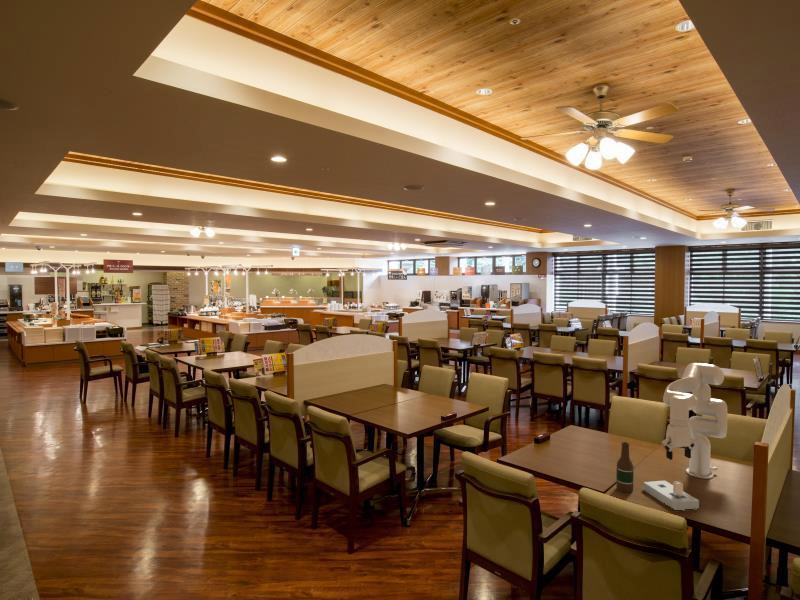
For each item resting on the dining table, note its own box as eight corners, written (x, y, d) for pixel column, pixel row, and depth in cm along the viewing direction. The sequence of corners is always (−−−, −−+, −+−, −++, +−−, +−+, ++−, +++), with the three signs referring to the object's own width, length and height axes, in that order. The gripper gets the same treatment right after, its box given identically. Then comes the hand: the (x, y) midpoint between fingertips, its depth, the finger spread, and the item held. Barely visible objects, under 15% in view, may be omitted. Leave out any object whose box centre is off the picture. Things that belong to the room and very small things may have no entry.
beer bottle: (632, 494, 230) (633, 446, 229) (615, 490, 234) (615, 443, 233) (634, 488, 236) (634, 442, 235) (617, 484, 240) (617, 439, 239)
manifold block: (664, 488, 236) (664, 480, 236) (698, 508, 215) (699, 500, 214) (643, 489, 234) (643, 482, 234) (675, 511, 213) (675, 502, 213)
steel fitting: (678, 501, 222) (678, 481, 222) (684, 505, 218) (685, 484, 218) (670, 502, 221) (671, 481, 221) (677, 506, 217) (677, 485, 217)
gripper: (689, 419, 223) (688, 453, 224) (657, 421, 220) (656, 456, 221) (701, 423, 216) (701, 459, 217) (668, 425, 213) (667, 462, 214)
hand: (678, 458), depth 219 cm, fingers open, 9 cm apart
